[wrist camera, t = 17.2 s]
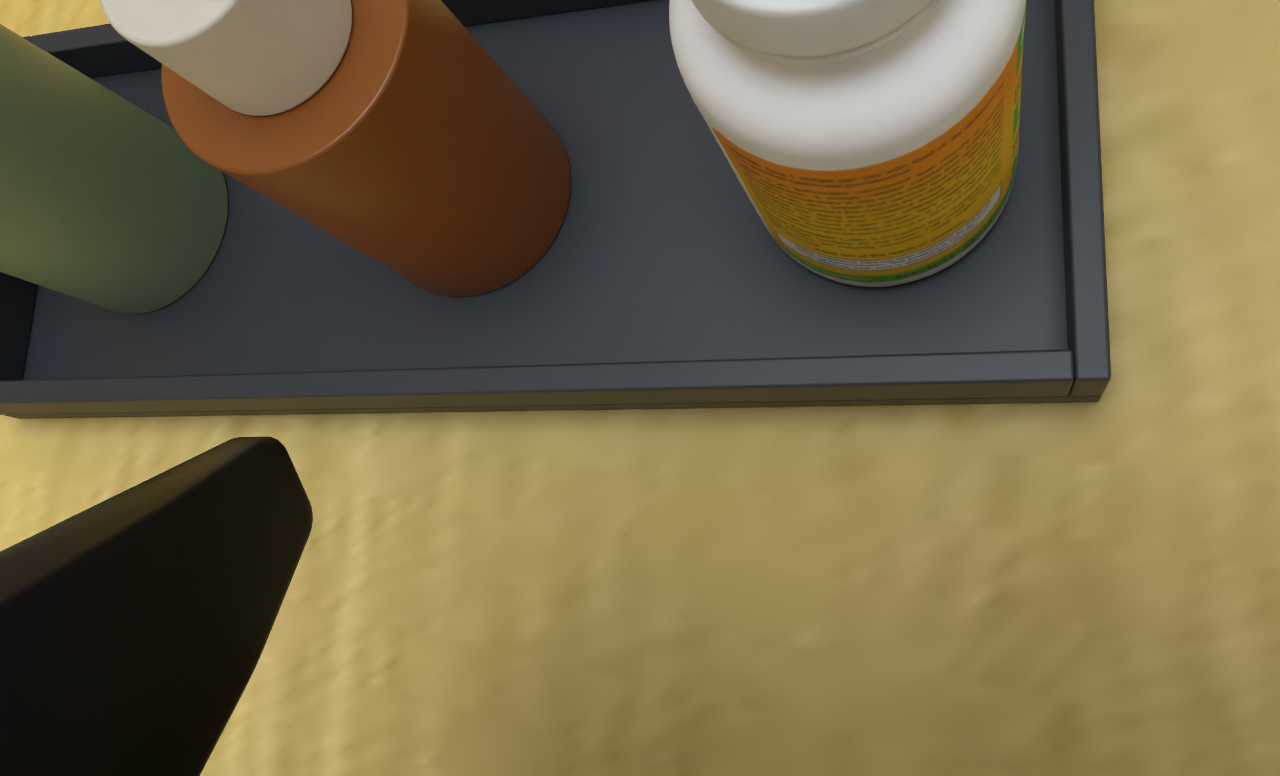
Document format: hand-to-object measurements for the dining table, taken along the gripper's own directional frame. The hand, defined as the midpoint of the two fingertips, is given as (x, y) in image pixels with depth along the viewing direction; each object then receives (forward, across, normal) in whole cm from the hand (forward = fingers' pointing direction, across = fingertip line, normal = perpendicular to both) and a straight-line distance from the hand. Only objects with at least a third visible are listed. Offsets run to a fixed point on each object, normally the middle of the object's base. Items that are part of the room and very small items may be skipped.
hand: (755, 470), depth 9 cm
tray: (+15, +10, +3) cm, 19 cm away
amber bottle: (+15, +10, +3) cm, 18 cm away
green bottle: (+15, +19, +3) cm, 25 cm away
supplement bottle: (+15, 0, +3) cm, 15 cm away
